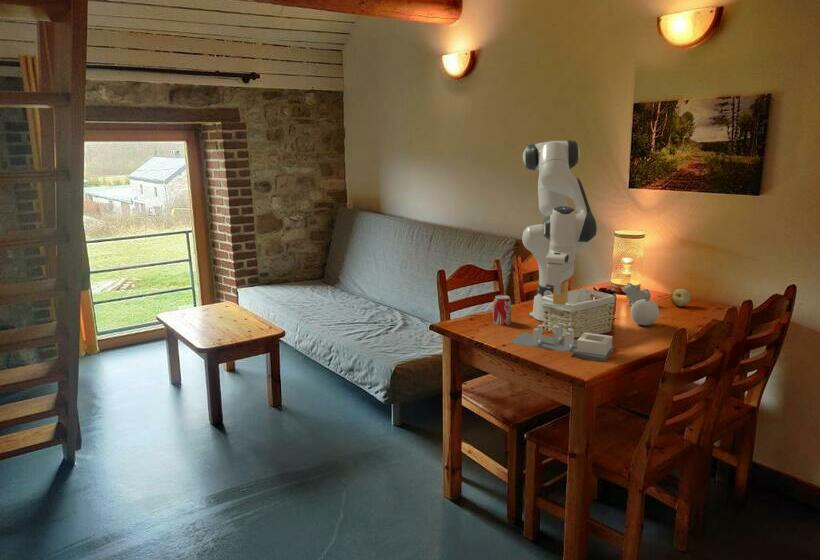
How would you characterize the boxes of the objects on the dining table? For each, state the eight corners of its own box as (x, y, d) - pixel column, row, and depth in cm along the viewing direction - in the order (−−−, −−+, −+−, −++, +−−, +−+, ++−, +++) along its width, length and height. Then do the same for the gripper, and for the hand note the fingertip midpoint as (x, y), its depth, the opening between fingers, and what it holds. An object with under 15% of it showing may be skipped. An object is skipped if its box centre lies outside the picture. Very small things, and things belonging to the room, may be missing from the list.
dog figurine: (618, 305, 267) (619, 281, 265) (646, 304, 269) (647, 280, 266) (623, 308, 262) (625, 284, 260) (651, 307, 263) (653, 283, 261)
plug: (547, 299, 217) (547, 278, 215) (567, 302, 213) (568, 280, 211) (543, 302, 213) (544, 280, 212) (564, 304, 210) (565, 282, 208)
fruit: (666, 305, 265) (667, 288, 264) (679, 303, 269) (681, 286, 267) (680, 309, 259) (681, 291, 257) (694, 307, 262) (695, 289, 260)
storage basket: (570, 344, 216) (571, 304, 213) (538, 332, 230) (539, 295, 227) (615, 333, 228) (617, 295, 225) (583, 323, 242) (584, 287, 239)
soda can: (501, 329, 234) (502, 299, 232) (489, 325, 240) (489, 296, 237) (514, 326, 238) (515, 296, 236) (501, 322, 244) (502, 293, 241)
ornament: (660, 329, 232) (662, 299, 229) (632, 328, 234) (634, 298, 231) (655, 321, 242) (657, 292, 239) (628, 320, 244) (630, 291, 241)
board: (522, 336, 226) (523, 317, 224) (613, 349, 209) (614, 328, 208) (509, 347, 214) (509, 326, 212) (604, 362, 198) (605, 340, 196)
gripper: (561, 249, 219) (560, 286, 222) (544, 258, 202) (542, 298, 205) (579, 250, 216) (577, 287, 219) (562, 259, 199) (561, 300, 202)
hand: (560, 293), depth 212 cm, fingers closed on plug, 4 cm apart
